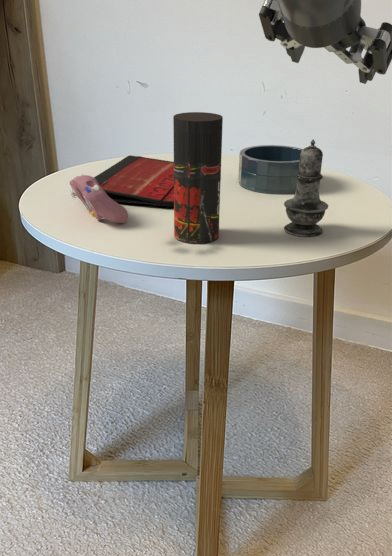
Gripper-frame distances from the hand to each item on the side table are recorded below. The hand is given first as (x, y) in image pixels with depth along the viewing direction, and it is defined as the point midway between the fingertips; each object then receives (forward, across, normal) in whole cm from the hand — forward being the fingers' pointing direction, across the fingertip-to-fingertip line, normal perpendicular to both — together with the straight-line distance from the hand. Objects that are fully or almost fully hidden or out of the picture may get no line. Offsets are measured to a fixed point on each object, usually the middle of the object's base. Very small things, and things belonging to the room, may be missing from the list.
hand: (332, 64), depth 70 cm
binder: (+20, +26, +19) cm, 38 cm away
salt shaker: (+11, -3, +18) cm, 21 cm away
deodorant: (+4, +9, +24) cm, 26 cm away
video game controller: (+6, +24, +27) cm, 37 cm away
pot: (+29, +9, +10) cm, 32 cm away
